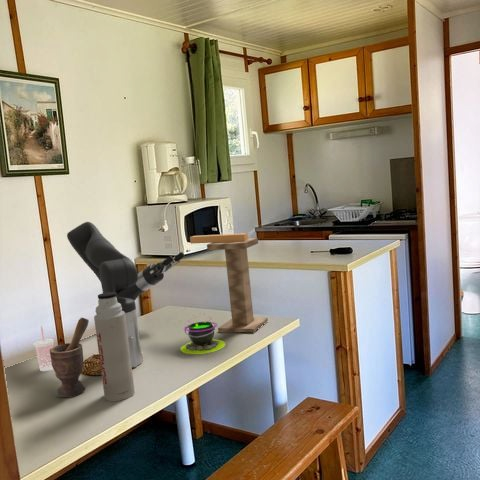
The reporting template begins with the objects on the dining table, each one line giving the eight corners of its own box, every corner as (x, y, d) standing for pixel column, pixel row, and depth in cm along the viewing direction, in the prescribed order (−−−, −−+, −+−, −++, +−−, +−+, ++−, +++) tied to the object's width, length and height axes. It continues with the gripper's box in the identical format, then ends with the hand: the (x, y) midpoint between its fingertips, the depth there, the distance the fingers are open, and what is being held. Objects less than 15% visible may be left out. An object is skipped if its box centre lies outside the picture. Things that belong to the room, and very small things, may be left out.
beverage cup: (61, 366, 174) (55, 324, 172) (45, 373, 169) (39, 329, 167) (49, 364, 177) (43, 322, 175) (33, 370, 172) (27, 328, 170)
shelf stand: (214, 331, 195) (205, 245, 192) (230, 321, 208) (222, 239, 204) (254, 333, 189) (245, 243, 186) (267, 321, 202) (260, 237, 198)
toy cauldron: (173, 354, 175) (169, 321, 174) (191, 339, 189) (187, 309, 188) (216, 355, 170) (212, 321, 169) (231, 340, 185) (228, 308, 183)
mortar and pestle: (77, 381, 158) (68, 315, 156) (101, 383, 155) (92, 316, 153) (49, 397, 148) (39, 327, 146) (74, 400, 144) (64, 328, 142)
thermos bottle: (105, 403, 140) (91, 298, 137) (103, 392, 148) (90, 293, 144) (136, 397, 142) (123, 293, 139) (133, 386, 150) (120, 288, 147)
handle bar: (190, 243, 200) (189, 237, 200) (194, 242, 203) (193, 235, 203) (244, 241, 192) (244, 234, 191) (248, 240, 194) (247, 233, 194)
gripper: (133, 273, 205) (163, 250, 199) (153, 265, 218) (181, 244, 212) (144, 289, 205) (173, 267, 198) (163, 281, 218) (191, 260, 211)
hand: (177, 256), depth 205 cm, fingers open, 8 cm apart
